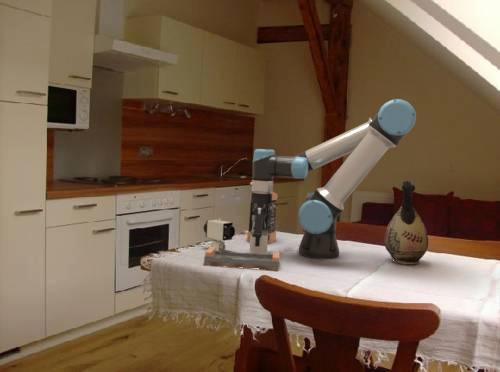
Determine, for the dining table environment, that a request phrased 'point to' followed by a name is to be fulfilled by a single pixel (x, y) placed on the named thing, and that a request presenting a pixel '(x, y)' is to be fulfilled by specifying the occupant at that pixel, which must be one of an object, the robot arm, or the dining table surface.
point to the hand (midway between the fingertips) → (258, 251)
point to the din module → (264, 241)
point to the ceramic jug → (406, 232)
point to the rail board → (241, 259)
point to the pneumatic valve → (219, 232)
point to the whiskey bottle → (268, 220)
